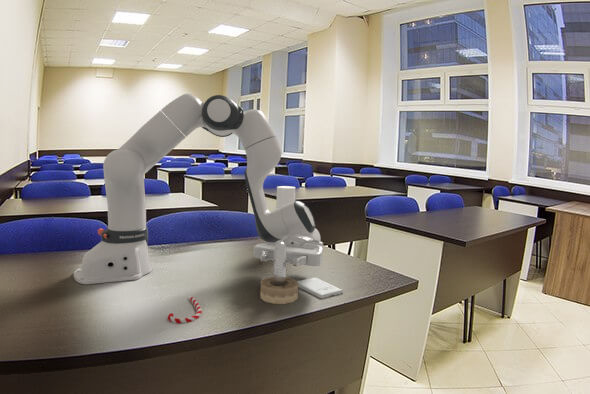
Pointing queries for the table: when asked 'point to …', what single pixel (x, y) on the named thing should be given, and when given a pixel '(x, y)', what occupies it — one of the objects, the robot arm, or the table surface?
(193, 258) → the table surface
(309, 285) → the external hard drive
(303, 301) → the table surface
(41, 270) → the table surface
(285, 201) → the cylindrical container
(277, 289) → the tan ring
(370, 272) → the table surface
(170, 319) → the candy cane
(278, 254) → the white peg
